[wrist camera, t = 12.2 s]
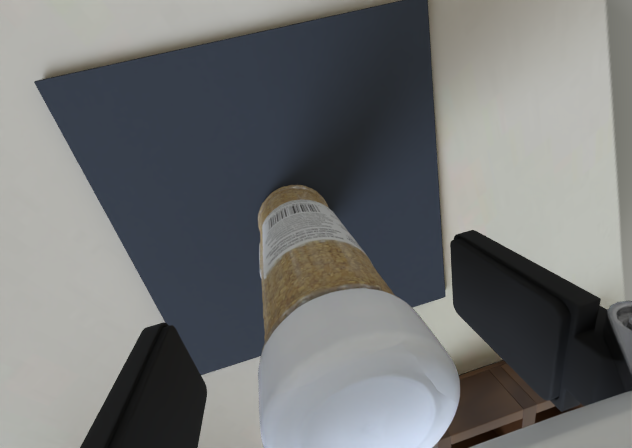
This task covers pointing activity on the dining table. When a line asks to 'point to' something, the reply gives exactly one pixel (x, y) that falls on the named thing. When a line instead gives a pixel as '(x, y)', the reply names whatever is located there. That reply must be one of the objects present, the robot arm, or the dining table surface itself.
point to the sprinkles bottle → (341, 341)
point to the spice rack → (494, 407)
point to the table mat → (262, 160)
